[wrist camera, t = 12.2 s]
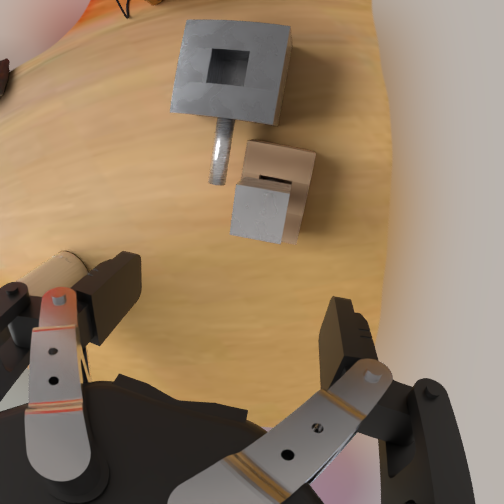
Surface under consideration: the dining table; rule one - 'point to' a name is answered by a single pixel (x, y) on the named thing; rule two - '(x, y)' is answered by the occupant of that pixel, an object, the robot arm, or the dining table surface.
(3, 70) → the rough brown rock chunk
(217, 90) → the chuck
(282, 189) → the grey square peg
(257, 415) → the dining table surface
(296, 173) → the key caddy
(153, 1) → the multimeter
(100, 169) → the dining table surface
